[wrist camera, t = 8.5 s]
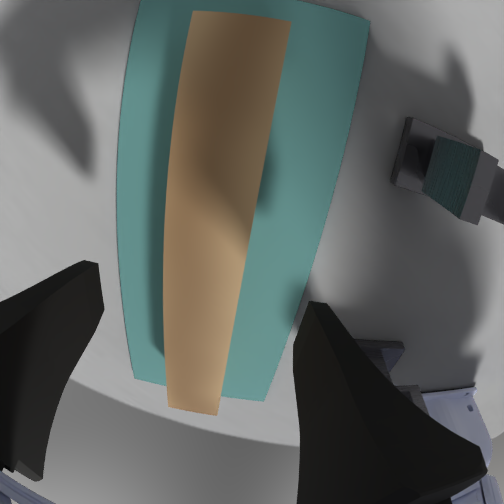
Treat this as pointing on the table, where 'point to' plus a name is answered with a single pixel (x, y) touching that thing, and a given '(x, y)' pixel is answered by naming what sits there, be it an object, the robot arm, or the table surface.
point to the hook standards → (446, 194)
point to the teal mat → (271, 186)
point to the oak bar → (214, 192)
